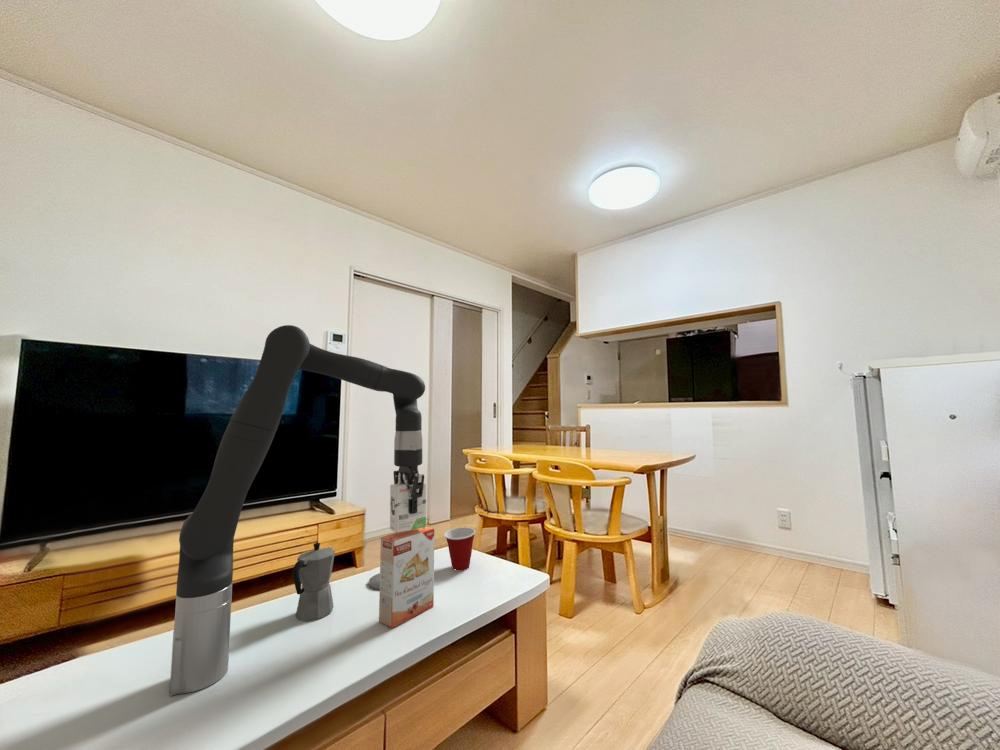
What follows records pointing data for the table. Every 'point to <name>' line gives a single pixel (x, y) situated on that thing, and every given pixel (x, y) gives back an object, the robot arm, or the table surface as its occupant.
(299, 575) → the coffeepot
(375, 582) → the glossy grey dome
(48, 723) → the table surface
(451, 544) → the plastic cup
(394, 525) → the ink box
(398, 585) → the cracker box
